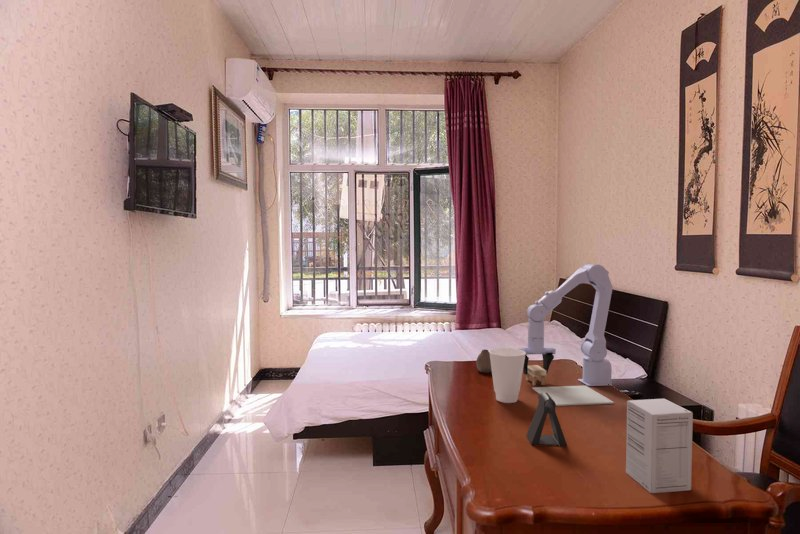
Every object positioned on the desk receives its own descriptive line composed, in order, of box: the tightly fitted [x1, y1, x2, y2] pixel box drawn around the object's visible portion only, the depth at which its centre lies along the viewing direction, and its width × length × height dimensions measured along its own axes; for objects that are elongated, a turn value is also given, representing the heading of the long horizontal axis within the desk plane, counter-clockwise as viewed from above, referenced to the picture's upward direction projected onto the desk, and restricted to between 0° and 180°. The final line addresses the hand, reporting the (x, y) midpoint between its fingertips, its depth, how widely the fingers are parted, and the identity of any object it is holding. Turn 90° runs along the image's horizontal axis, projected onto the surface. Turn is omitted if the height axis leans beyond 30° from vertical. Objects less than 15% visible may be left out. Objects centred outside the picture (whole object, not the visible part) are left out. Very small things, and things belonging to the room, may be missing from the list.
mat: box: [531, 384, 615, 407], centre depth 161 cm, size 20×18×1 cm
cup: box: [488, 347, 526, 404], centre depth 156 cm, size 12×12×16 cm
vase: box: [475, 349, 492, 374], centre depth 191 cm, size 7×7×9 cm
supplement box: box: [625, 398, 694, 494], centre depth 103 cm, size 10×9×17 cm
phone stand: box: [526, 393, 568, 447], centre depth 124 cm, size 9×6×12 cm, turn 86°
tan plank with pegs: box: [525, 364, 547, 387], centre depth 176 cm, size 5×8×6 cm, turn 7°
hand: (535, 373), depth 176 cm, fingers open, 7 cm apart
